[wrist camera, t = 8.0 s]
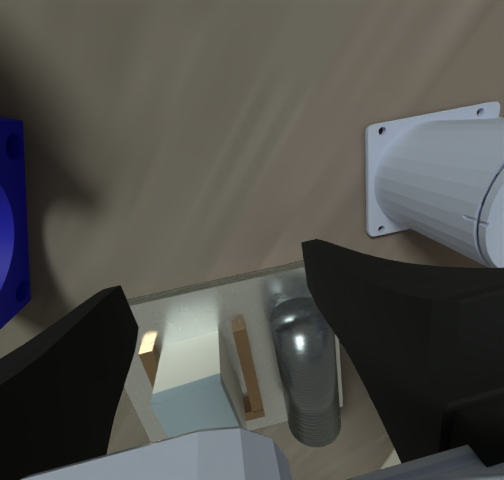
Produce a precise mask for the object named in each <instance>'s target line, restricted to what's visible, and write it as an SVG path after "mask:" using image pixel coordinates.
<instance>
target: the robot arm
mask: <svg viewBox="0 0 504 480" xmlns="http://www.w3.org/2000/svg"><path fill="white" fill-rule="evenodd" d="M478 110H479V113H478V115H477V111H478ZM499 112H500V104H499V103H498V102H487V103H482V104H477V105H472V106H466V107H461V108H456V109H451V110H445V111H440V112H435V113H430V114H424V115H419V116H414V117H409V118H403V119H398V120H393V121H388V122H382V123H377V124H372V125H370V126H369V127H367V129H366V132H365V157H366V231H367V233H368V235H370V236H372V237H375V236H380V235H384V234H389V233H393V232H398V231H402V230H407V229H412V230H414V231H416V232H418V233H420V234H422V235H424V236H426V237H428V238H430V239H432V240H434V241H436V242H438V243H440V244H442V245H444V246H446V247H448V248H450V249H452V250H454V251H456V252H458V253H460V254H462V255H464V256H466V257H468V258H470V259H472V260H474V261H476V262H478V263H480V264H482V265H484V266H486V267H488V268H456V267H439V266H429V265H419V264H411V263H404V262H399V261H393V260H388V259H383V258H379V257H375V256H371V255H367V254H363V253H360V252H356V251H353V250H350V249H347V248H344V247H341V246H338V245H335V244H332V243H329V242H326V241H323V240H318V239H314V240H310V241H306V242H302V251H303V258H304V266H305V273H306V281H307V287H308V289H309V291H310V293H311V295H312V298H313V300H314V302H315V304H316V306H317V307H318V309H319V310H320V312H321V313H322V315H323V317H324V318H325V320H326V321H327V323H328V324H329V326H330V327H331V329H332V330H333V332H334V333H335V335H336V336H337V338H338V339H339V341H340V342H341V344H342V345H343V347H344V348H345V350H346V352H347V353H348V355H349V357H350V358H351V360H352V362H353V364H354V366H355V368H356V370H357V372H358V374H359V376H360V378H361V379H362V381H363V383H364V385H365V387H366V389H367V391H368V393H369V395H370V397H371V399H372V402H373V404H374V406H375V408H376V410H377V412H378V414H379V416H380V418H381V420H382V422H383V424H384V426H385V429H386V431H387V433H388V435H389V437H390V439H391V441H392V443H393V446H394V448H395V450H396V452H397V454H398V457H399V459H400V461H401V463H402V464H398V465H395V466H391V467H388V468H385V469H381V470H377V471H374V472H371V473H367V474H364V475H360V476H357V477H353V478H350V479H346V480H504V117H499ZM380 128H382V129H383V132H382V134H381V135H380V134H379V129H380ZM380 226H382V228H381V230H379V231H378V228H379V227H380ZM138 330H139V327H138V324H137V322H136V320H135V317H134V315H133V313H132V311H131V308H130V306H129V304H128V301H127V299H126V297H125V295H124V292H123V290H122V288H121V285H119V286H115V287H111V288H107V289H104V290H102V291H100V292H98V293H97V294H95V295H93V296H92V297H90V298H89V299H88V300H86V301H85V302H83V303H82V304H81V305H79V306H78V307H76V308H75V309H74V310H72V311H71V312H70V313H68V314H67V315H66V316H64V317H63V318H61V319H60V320H59V321H57V322H56V323H54V324H53V325H51V326H50V327H49V328H47V329H46V330H44V331H43V332H41V333H40V334H38V335H37V336H36V337H34V338H33V339H31V340H30V341H28V342H27V343H25V344H24V345H22V346H20V347H19V348H17V349H16V350H14V351H12V352H11V353H9V354H7V355H6V356H4V357H2V358H1V359H0V480H292V477H291V472H290V468H289V464H288V460H287V458H286V456H285V455H284V454H283V452H282V451H281V450H280V448H279V447H278V446H277V444H276V443H275V442H274V440H273V439H272V438H270V437H267V436H265V435H262V434H259V433H256V432H253V431H250V430H247V429H244V428H241V427H238V426H232V427H221V428H209V429H200V430H196V431H192V432H189V433H185V434H181V435H178V436H174V437H170V438H166V439H163V440H159V441H155V442H151V443H148V444H144V445H140V446H137V447H133V448H129V449H125V450H122V451H118V452H114V453H111V454H107V449H108V444H109V439H110V434H111V430H112V425H113V420H114V417H115V413H116V410H117V406H118V403H119V400H120V397H121V394H122V391H123V388H124V385H125V381H126V378H127V375H128V372H129V369H130V366H131V363H132V360H133V356H134V353H135V349H136V343H137V337H138ZM106 454H107V455H106Z"/></svg>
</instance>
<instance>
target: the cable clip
mask: <svg viewBox="0 0 504 480" xmlns="http://www.w3.org/2000/svg"><path fill="white" fill-rule="evenodd" d="M29 301H30V278H29V255H28V232H27V209H26V186H25V163H24V140H23V121H19V120H14V119H10V118H5V117H0V329H1V328H2V327H3V326H4V325H5V324H6V323H7V322H8V321H10V320H11V319H12V318H13V317H14V316H15V315H16V314H17V313H18V312H19V311H20V310H21V309H22V308H23V307H24V306H25V305H26V304H27V303H28V302H29Z"/></svg>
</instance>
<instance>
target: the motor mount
mask: <svg viewBox="0 0 504 480" xmlns="http://www.w3.org/2000/svg"><path fill="white" fill-rule="evenodd" d="M127 301H128V304H129V306H130V308H131V311H132V313H133V315H134V317H135V320H136V322H137V324H138V327H139V330H138V337H137V343H136V349H135V353H134V356H133V360H132V363H131V366H130V369H129V372H128V375H127V378H126V381H125V385H124V387H125V389H126V391H127V393H128V395H129V397H130V399H131V401H132V404H133V406H134V408H135V410H136V412H137V414H138V416H139V418H140V420H141V422H142V424H143V427H144V429H145V431H146V433H147V435H148V437H149V439H150V441H151V442H155V441H159V440H163V439H166V438H169V437H168V435H167V434H166V432H165V430H164V428H163V427H162V425H161V423H160V422H159V420H158V418H157V417H156V415H155V413H154V412H153V410H152V408H151V407H150V403H151V398H152V393H153V388H154V384H155V379H156V374H157V369H158V364H159V360H160V355H161V350H162V347H165V346H168V345H171V344H174V343H178V342H181V341H184V340H187V339H191V338H194V337H197V336H200V335H203V334H207V333H210V332H213V331H216V330H218V331H219V334H220V336H221V339H222V341H223V344H224V346H225V349H226V352H227V354H228V357H229V359H230V362H231V364H232V367H233V369H234V372H235V374H236V377H237V380H238V382H239V385H240V387H241V390H242V395H243V403H244V410H245V418H246V426H247V430H254V429H258V428H262V427H265V426H269V425H273V424H277V423H281V422H285V421H288V424H289V428H290V430H291V432H292V434H293V435H294V437H295V438H296V439H297V440H298V441H300V442H301V443H303V444H305V445H307V446H311V447H323V446H326V445H328V444H330V443H332V442H333V441H334V440H335V439H336V438H337V436H338V434H339V432H340V428H341V417H340V407H342V406H343V397H342V382H341V366H340V350H339V339H338V338H337V336H336V335H335V333H334V332H333V330H332V329H331V327H330V326H329V324H328V323H327V321H326V320H325V318H324V317H323V315H322V313H321V312H320V310H319V309H318V307H317V306H316V304H315V302H314V300H313V298H312V295H311V293H310V291H309V289H308V287H307V281H306V273H305V266H304V261H299V262H295V263H290V264H286V265H281V266H277V267H272V268H268V269H263V270H259V271H254V272H250V273H245V274H241V275H236V276H232V277H227V278H223V279H218V280H213V281H209V282H204V283H200V284H195V285H191V286H186V287H182V288H177V289H173V290H168V291H164V292H159V293H155V294H150V295H146V296H141V297H137V298H132V299H128V300H127Z"/></svg>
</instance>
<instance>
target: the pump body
mask: <svg viewBox="0 0 504 480" xmlns="http://www.w3.org/2000/svg"><path fill="white" fill-rule="evenodd" d="M150 407H151V408H152V410H153V412H154V413H155V415H156V417H157V418H158V420H159V422H160V423H161V425H162V427H163V428H164V430H165V432H166V434H167V435H168V437H169V438H170V437H174V436H178V435H181V434H185V433H189V432H192V431H196V430H200V429H209V428H221V427H232V426H238V427H241V428H244V429H247V426H246V418H245V410H244V403H243V395H242V390H241V387H240V385H239V382H238V380H237V377H236V374H235V372H234V369H233V367H232V364H231V362H230V359H229V357H228V354H227V352H226V349H225V346H224V344H223V341H222V339H221V336H220V334H219V331H218V330H216V331H213V332H210V333H207V334H203V335H200V336H197V337H194V338H191V339H187V340H184V341H181V342H178V343H174V344H171V345H168V346H165V347H162V350H161V355H160V360H159V364H158V369H157V374H156V379H155V384H154V388H153V393H152V398H151V403H150Z"/></svg>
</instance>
